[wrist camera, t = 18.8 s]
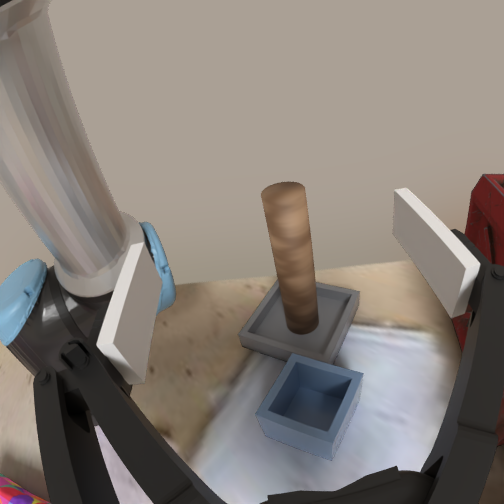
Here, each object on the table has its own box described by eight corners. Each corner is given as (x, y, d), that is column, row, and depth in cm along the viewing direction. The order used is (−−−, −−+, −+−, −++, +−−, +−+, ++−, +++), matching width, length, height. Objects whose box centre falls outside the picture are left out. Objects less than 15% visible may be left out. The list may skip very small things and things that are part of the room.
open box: (265, 435, 35) (254, 414, 31) (297, 381, 41) (292, 352, 37) (331, 460, 31) (332, 443, 27) (359, 400, 37) (363, 373, 33)
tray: (242, 346, 48) (238, 334, 46) (283, 287, 57) (280, 274, 55) (328, 374, 41) (327, 362, 39) (359, 304, 50) (359, 291, 48)
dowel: (280, 329, 48) (252, 199, 36) (295, 307, 51) (273, 180, 39) (311, 338, 46) (294, 203, 33) (323, 314, 49) (311, 183, 36)
